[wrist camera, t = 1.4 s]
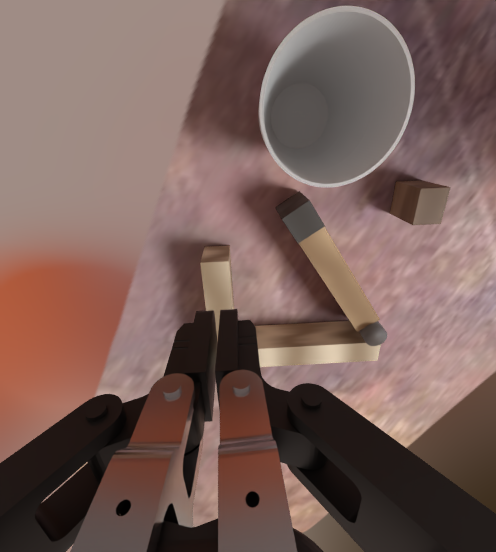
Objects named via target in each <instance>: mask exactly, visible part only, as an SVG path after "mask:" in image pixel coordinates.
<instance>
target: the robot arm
mask: <svg viewBox="0 0 496 552" xmlns="http://www.w3.org/2000/svg"><path fill="white" fill-rule="evenodd" d="M215 380H216V384H217V393H218V401H219V410H220V446H219V447H218V519H216V520H213V521H210V522H208V523H205V524H203V525H200V526H197V527H193V505H194V497H195V491H196V485H197V479H198V473H199V466H200V460H201V454H202V448H203V432H204V423H205V422H206V421H212V417H213V404H214V392H215ZM86 462H88V463H87V464H86V465H85V466H84V467H83V468H82V469H80V470H79V471H78V472H77V473H76V474H75V475H74V476H72V477H71V478H70V479H69V480H68V481H67V482H66V483H64V484H63V485H62V486H61V487H60V488H59V489H58V490H57V491H55V492H54V493H53V494H52V495H51V496H50V497H49V498H48V499H46V500H45V501H44V502H42V501H43V500H44V499H45V498H46V497H47V496H48V495H50V494H51V493H52V492H53V491H54V490H55V489H56V488H58V487H59V486H60V485H61V484H62V483H63V482H64V481H66V480H67V479H68V478H69V477H70V476H71V475H72V474H74V473H75V472H76V471H77V470H78V469H79V468H80V467H82V466H83V465H84V464H85V463H86ZM280 462H282V463H285V464H287V465H288V467H289V469H290V471H291V472H292V473H293V474H294V475H295V476H296V477H297V479H298V480H299V481H300V482H301V483H302V484H303V485H304V486H305V487H306V488H307V489H308V491H309V492H310V493H311V494H312V495H313V496H314V497H315V498H316V499H317V500H318V501H319V503H320V504H321V505H322V506H323V507H324V508H325V509H326V510H327V511H328V512H329V513H330V515H331V516H332V517H333V518H334V519H335V520H336V521H337V522H338V523H339V524H340V525H341V527H343V529H344V530H345V531H346V532H347V533H348V534H349V535H350V536H351V538H352V539H353V540H354V541H355V542H356V543H357V544H358V545H359V546H360V547H361V548H362V550H363V551H364V552H496V514H495V513H494V512H492V511H491V510H490V509H488V508H487V507H486V506H484V505H483V504H482V503H480V502H479V501H477V500H476V499H475V498H473V497H472V496H471V495H469V494H468V493H467V492H465V491H464V490H463V489H461V488H460V487H458V486H457V485H456V484H454V483H453V482H452V481H450V480H449V479H447V478H446V477H445V476H443V475H442V474H441V473H439V472H438V471H437V470H435V469H434V468H432V467H431V466H430V465H428V464H427V463H425V462H424V461H423V460H422V459H420V458H419V457H417V456H416V455H415V454H413V453H412V452H411V451H409V450H408V449H407V448H405V447H404V446H402V445H401V444H400V443H398V442H397V441H396V440H394V439H393V438H392V437H390V436H389V435H387V434H386V433H385V432H383V431H382V430H381V429H379V428H378V427H377V426H375V425H374V424H372V423H371V422H370V421H368V420H367V419H366V418H364V417H363V416H362V415H360V414H359V413H357V412H356V411H355V410H353V409H352V408H351V407H349V406H348V405H346V404H345V403H344V402H342V401H341V400H340V399H338V398H337V397H336V396H334V395H333V394H331V393H330V392H329V391H327V390H326V389H324V388H323V387H321V386H319V385H316V384H309V383H306V384H300V385H298V386H296V387H294V388H293V389H292V390H291V391H290V392H288V391H284V390H280V389H276V388H274V387H272V386H270V385H269V384H267V383H266V382H265V381H264V379H263V378H262V376H261V372H260V363H259V353H258V345H257V334H256V327H255V326H254V324H253V323H252V322H251V321H250V320H242V321H238V312H237V309H228V310H220V319H219V330H218V342H217V331H216V322H215V313H214V310H209V311H196V315H195V319H194V323H186V324H183V326H182V327H181V328H180V329H179V330H178V331H177V333H176V336H175V340H174V343H173V347H172V350H171V353H170V357H169V360H168V363H167V367H166V370H165V373H164V377H162V378H161V379H159V380H158V381H157V382H156V383H155V384H154V385H153V386H152V388H151V390H150V392H149V394H147V395H145V396H143V397H141V398H138V399H135V400H132V401H128V402H125V403H122V401H121V399H120V398H119V397H118V396H116V395H112V394H104V395H99V396H96V397H94V398H92V399H90V400H88V401H87V402H85V403H84V404H82V405H81V406H79V407H78V408H77V409H75V410H74V411H73V412H71V413H70V414H68V415H67V416H66V417H64V418H63V419H62V420H60V421H59V422H57V423H56V424H54V425H53V426H52V427H50V428H49V429H48V430H46V431H45V432H43V433H42V434H41V435H39V436H38V437H36V438H35V439H33V440H32V441H31V442H29V443H28V444H26V445H25V446H24V447H22V448H21V449H20V450H18V451H17V452H15V453H14V454H13V455H11V456H10V457H8V458H7V459H6V460H4V461H3V462H1V463H0V552H66V551H67V550H68V549H69V548H70V547H71V546H72V545H73V546H72V549H71V551H70V552H323V551H322V550H321V549H320V548H319V547H318V546H317V545H316V544H315V543H314V542H313V541H312V540H311V539H309V538H308V537H307V536H305V535H304V534H302V533H301V532H299V531H298V530H296V529H294V528H293V527H292V522H291V516H290V511H289V506H288V501H287V495H286V490H285V485H284V480H283V475H282V469H281V464H280ZM41 502H42V503H41Z"/></svg>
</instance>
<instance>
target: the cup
mask: <svg viewBox="0 0 496 552" xmlns="http://www.w3.org/2000/svg"><path fill="white" fill-rule="evenodd" d="M414 92H415V76H414V68H413V63H412V59H411V55H410V52H409V50H408V47H407V45H406V43H405V41H404V39H403V38H402V36H401V35H400V33H399V32H398V30H397V29H396V28H395V27H394V26H393V25H392V24H391V23H390V22H389V21H388V20H387V19H385V18H384V17H383V16H381V15H379V14H378V13H376V12H374V11H372V10H369V9H366V8H362V7H357V6H338V7H332V8H329V9H325V10H323V11H320V12H318V13H316V14H314V15H312V16H310V17H308V18H307V19H305V20H304V21H302V22H301V23H300V24H299V25H297V26H296V27H295V28H294V29H293V30H292V31H291V32H290V33H289V34H288V35H287V36H286V37H285V39H284V40H283V41H282V42H281V44H280V45H279V47H278V48H277V50H276V51H275V53H274V55H273V57H272V59H271V61H270V63H269V65H268V67H267V70H266V73H265V76H264V79H263V83H262V87H261V93H260V100H259V111H258V116H259V126H260V131H261V135H262V138H263V140H264V143H265V145H266V147H267V149H268V150H269V152H270V154H271V155H272V157H273V159H274V160H275V161H276V163H277V164H278V165H279V166H280V167H281V168H282V169H283V170H284V171H285V172H286V173H287V174H288V175H290V176H291V177H293V178H294V179H296V180H298V181H300V182H302V183H305V184H308V185H311V186H316V187H337V186H342V185H346V184H349V183H352V182H355V181H357V180H359V179H361V178H363V177H364V176H366V175H368V174H369V173H371V172H372V171H373V170H375V169H376V168H377V167H378V166H379V165H380V164H381V163H382V162H383V161H384V160H385V159H386V158H387V157H388V156H389V155H390V153H391V152H392V151H393V150H394V148H395V147H396V145H397V144H398V142H399V140H400V139H401V137H402V135H403V133H404V131H405V128H406V126H407V124H408V121H409V118H410V114H411V111H412V106H413V101H414Z"/></svg>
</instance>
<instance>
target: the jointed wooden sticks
mask: <svg viewBox="0 0 496 552" xmlns="http://www.w3.org/2000/svg"><path fill="white" fill-rule="evenodd" d="M449 191H450V187H447V186H443V185H438V184H434V183H430V182H426V181H422V180H418V181H396V184H395V189H394V194H393V200H392V205H391V211H390V214H392V215H394V216H396V217H398V218H400V219H402V220H404V221H406V222H408V223H410V224H412V225H426V224H441V221H442V217H443V213H444V209H445V206H446V202H447V198H448V195H449ZM200 265H201V273H202V281H203V290H204V298H205V306H206V311H209V310H214V313H215V322H216V331H217V342H218V330H219V319H220V310H228V309H234V302H233V287H232V273H231V258H230V246H209V247H204V251H203V255H202V258H201V262H200ZM255 327H256V334H257V345H258V353H259V363H260V367H270V366H288V365H305V364H323V363H341V362H359V361H376V360H378V355H379V350H380V346H381V344H380V345H378V346H370V345H368V344H366V342H365V341H364V339H363V337H362V336H361V334H360V333H359V331H358V332H357V331H356V329H355V328H354V326H353V325H352V323H351V322H350V321H336V322H317V323H298V324H280V325H261V326H255Z"/></svg>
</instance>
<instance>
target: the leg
mask: <svg viewBox="0 0 496 552" xmlns="http://www.w3.org/2000/svg"><path fill="white" fill-rule="evenodd" d="M276 209H277V211H278V213H279V215H280V217H281V218H282V220H283V222H284V223H285V225H286V226H287V228H288V229H289V231H290V232H291V234H292V235H293V237H294V238H295V240H296V241H297V243H299V245H300V246H301V248H302V249H303V251H304V252H305V254H306V255H307V257H308V258H309V260H310V261H311V263H312V264H313V266H314V267H315V269H316V270H317V272H318V273H319V275H320V276H321V278H322V280H323V281H324V283H325V284H326V286H327V287H328V289H329V290H330V292H331V293H332V295H333V296H334V298H335V299H336V301H337V302H338V304H339V305H340V307H341V308H342V310H343V311H344V313H345V314H346V316H347V317H348V319H349V320H350V322H351V323H352V325H353V326H354V328H355V329H356V331H357V332H358V331H359V333H360V334H361V336H362V337H363V339H364V341H365V342H366V344H368V345H370V346H378V345H380V344H382V343H383V342H384V341H385V340H386V338H387V332H386V331H385V330H384V328H383V327H382V326H381V324H380V323H379V322H378V320H380V319H379V317H378V316H377V314H376V312H375V311H374V309H373V307H372V306H371V304H370V302H369V301H368V299H367V297H366V296H365V294H364V292H363V290H362V289H361V287H360V285H359V284H358V282H357V280H356V279H355V277H354V275H353V274H352V272H351V270H350V269H349V267H348V265H347V264H346V262H345V260H344V259H343V257H342V255H341V254H340V252H339V250H338V249H337V247H336V245H335V244H334V242H333V240H332V239H331V237H330V235H329V234H328V232H327V230H326V229H325V225H324V224H323V222H322V220H321V219H320V217H319V215H318V214H317V212H316V210H315V209H314V207H313V205H312V204H311V202H310V200H309V199H307V198H306V197H305V196H304V195H303V194H302V193H301V192H297V193H296V194H295V195H293V196H292V197H290V198H289V199H287V200H286V201H284V202H283V203H282V204H280V205H279V206H277V207H276Z"/></svg>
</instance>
